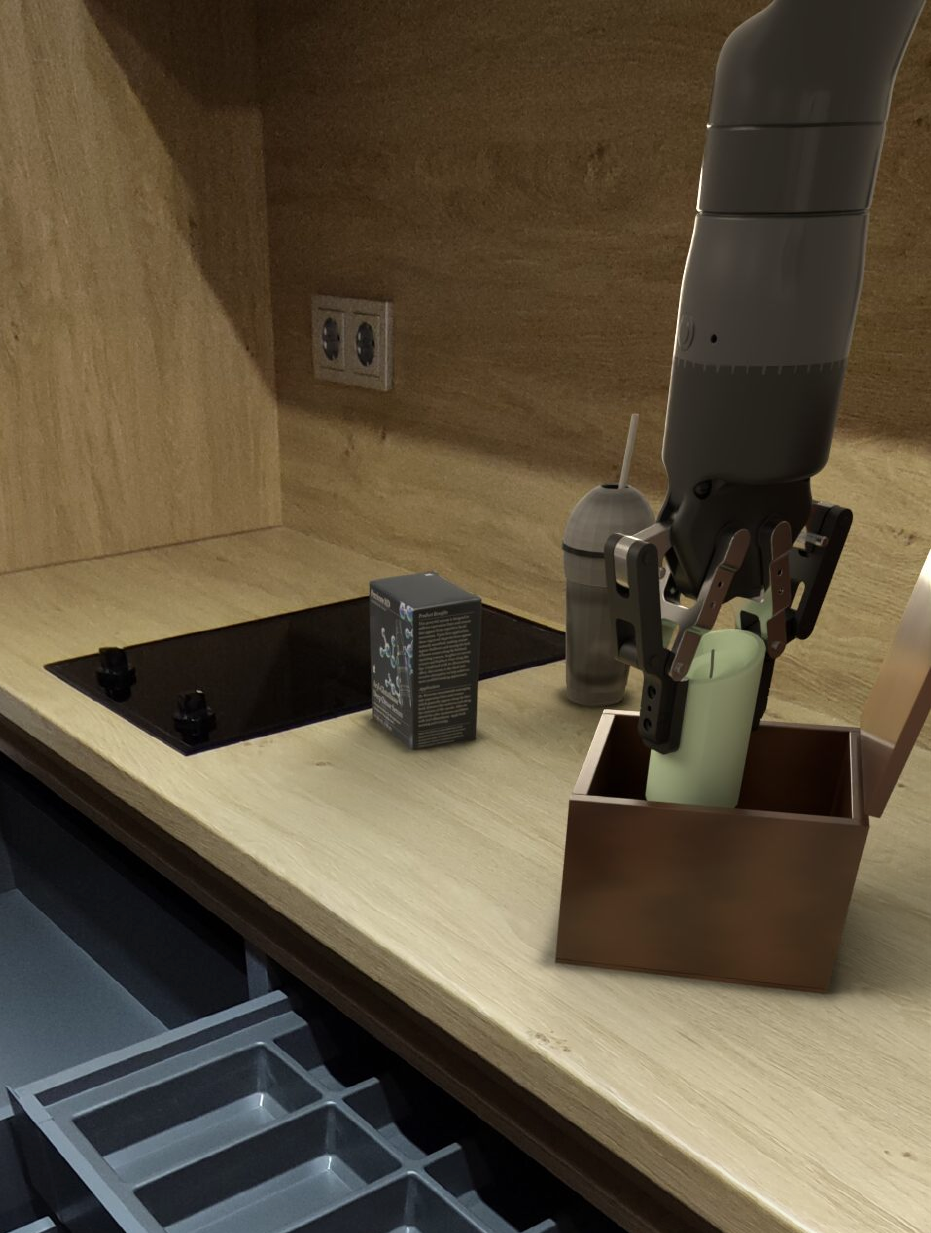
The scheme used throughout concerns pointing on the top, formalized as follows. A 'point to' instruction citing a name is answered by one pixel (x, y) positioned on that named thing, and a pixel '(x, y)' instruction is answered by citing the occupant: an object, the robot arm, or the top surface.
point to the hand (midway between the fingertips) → (700, 737)
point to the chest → (715, 861)
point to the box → (424, 659)
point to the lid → (898, 700)
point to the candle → (712, 724)
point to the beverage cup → (597, 584)
